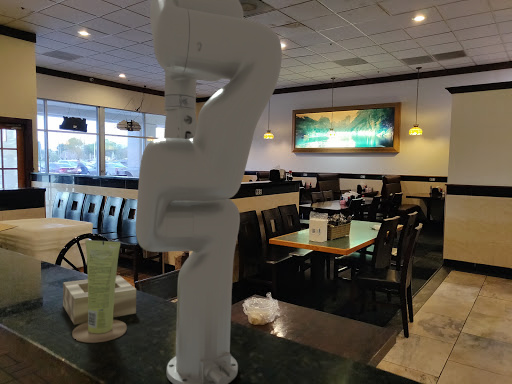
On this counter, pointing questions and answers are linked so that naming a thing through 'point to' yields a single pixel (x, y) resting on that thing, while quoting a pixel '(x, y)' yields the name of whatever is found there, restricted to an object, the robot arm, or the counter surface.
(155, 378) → the counter surface
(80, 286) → the socket block
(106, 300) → the tube
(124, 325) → the disc
